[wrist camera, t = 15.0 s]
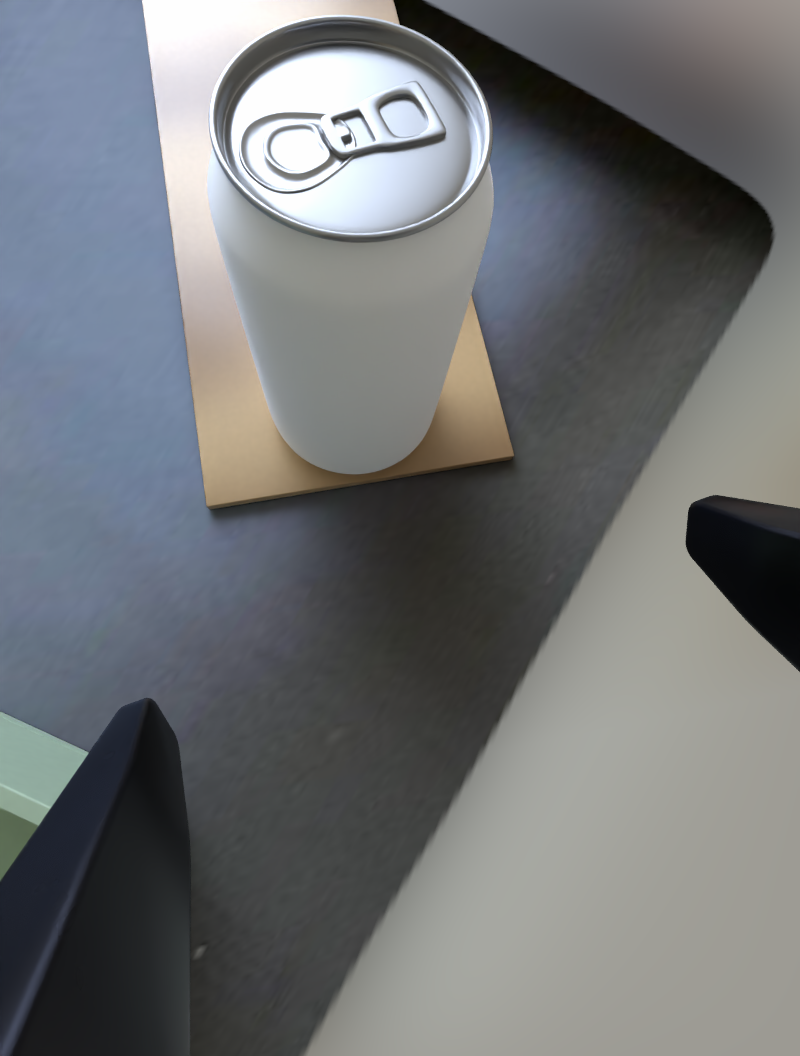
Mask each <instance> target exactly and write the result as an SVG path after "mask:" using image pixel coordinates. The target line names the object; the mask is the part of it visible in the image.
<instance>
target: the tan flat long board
mask: <svg viewBox="0 0 800 1056" xmlns="http://www.w3.org/2000/svg"><path fill="white" fill-rule="evenodd" d="M142 4H143V11H144V19H145V27H146V35H147V43H148V51H149V59H150V66H151V74H152V82H153V90H154V98H155V106H156V113H157V121H158V129H159V137H160V145H161V153H162V160H163V168H164V176H165V184H166V192H167V200H168V208H169V215H170V223H171V231H172V239H173V247H174V255H175V262H176V270H177V278H178V286H179V294H180V302H181V310H182V317H183V325H184V333H185V341H186V349H187V357H188V364H189V372H190V380H191V388H192V396H193V404H194V412H195V419H196V427H197V435H198V443H199V451H200V459H201V466H202V474H203V482H204V490H205V498H206V506H207V507H208V509H216V508H222V507H228V506H234V505H240V504H246V503H252V502H258V501H264V500H270V499H276V498H282V497H288V496H294V495H300V494H306V493H312V492H318V491H324V490H330V489H336V488H342V487H349V486H355V485H361V484H367V483H373V482H379V481H385V480H391V479H397V478H403V477H409V476H415V475H421V474H427V473H433V472H439V471H445V470H451V469H457V468H463V467H469V466H475V465H481V464H487V463H493V462H499V461H505V460H511V459H512V458H513V457H514V453H513V449H512V445H511V441H510V438H509V434H508V430H507V426H506V422H505V419H504V415H503V411H502V407H501V404H500V400H499V396H498V392H497V389H496V385H495V381H494V377H493V374H492V370H491V366H490V362H489V358H488V355H487V351H486V347H485V343H484V340H483V336H482V332H481V328H480V325H479V321H478V317H477V313H476V310H475V306H474V302H473V298H472V295H471V296H470V300H469V303H468V306H467V310H466V313H465V316H464V320H463V323H462V326H461V330H460V333H459V336H458V339H457V343H456V346H455V349H454V352H453V356H452V359H451V362H450V365H449V369H448V372H447V375H446V378H445V382H444V385H443V388H442V391H441V395H440V398H439V401H438V404H437V407H436V410H435V413H434V416H433V419H432V422H431V424H430V427H429V429H428V431H427V433H426V435H425V436H424V438H423V440H422V441H421V442H420V444H419V445H418V446H417V447H416V448H415V449H414V450H413V451H412V452H411V453H410V454H409V455H408V456H407V457H405V458H404V459H403V460H401V461H399V462H398V463H396V464H394V465H392V466H390V467H388V468H385V469H383V470H380V471H376V472H372V473H365V474H342V473H336V472H332V471H328V470H325V469H322V468H319V467H317V466H315V465H313V464H311V463H309V462H307V461H306V460H304V459H303V458H301V457H300V456H299V455H298V454H297V453H295V452H294V451H293V450H292V449H291V447H290V446H289V445H288V444H287V443H286V441H285V440H284V439H283V437H282V436H281V434H280V433H279V431H278V429H277V427H276V425H275V423H274V421H273V419H272V416H271V413H270V411H269V408H268V405H267V402H266V398H265V395H264V392H263V389H262V386H261V382H260V379H259V376H258V373H257V369H256V366H255V363H254V360H253V356H252V353H251V350H250V347H249V343H248V340H247V337H246V333H245V330H244V327H243V324H242V320H241V317H240V314H239V310H238V307H237V304H236V300H235V297H234V294H233V290H232V287H231V284H230V280H229V277H228V274H227V270H226V267H225V263H224V260H223V256H222V253H221V250H220V246H219V243H218V239H217V236H216V232H215V228H214V224H213V220H212V216H211V212H210V206H209V199H208V191H207V177H208V168H209V161H210V156H211V152H212V148H213V146H212V143H211V138H210V132H209V108H210V102H211V98H212V94H213V91H214V88H215V86H216V83H217V81H218V79H219V77H220V75H221V74H222V72H223V70H224V69H225V67H226V66H227V65H228V63H229V62H230V61H231V60H232V59H233V57H234V56H235V55H236V54H237V53H238V52H239V51H240V50H241V49H243V48H244V47H245V46H246V45H247V44H249V43H250V42H251V41H253V40H254V39H256V38H257V37H259V36H261V35H262V34H264V33H266V32H268V31H270V30H272V29H274V28H276V27H279V26H281V25H284V24H287V23H290V22H293V21H297V20H301V19H305V18H310V17H317V16H326V15H356V16H365V17H371V18H377V19H381V20H385V21H389V22H393V23H396V24H399V20H398V16H397V12H396V9H395V5H394V1H393V0H142ZM399 25H400V24H399Z"/></svg>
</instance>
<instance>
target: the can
mask: <svg viewBox="0 0 800 1056" xmlns="http://www.w3.org/2000/svg"><path fill="white" fill-rule="evenodd" d="M209 132H210V138H211V143H212V146H213V148H212V152H211V156H210V161H209V168H208V177H207V191H208V199H209V206H210V212H211V216H212V220H213V224H214V228H215V232H216V236H217V239H218V243H219V246H220V250H221V253H222V256H223V260H224V263H225V267H226V270H227V274H228V277H229V280H230V284H231V287H232V290H233V294H234V297H235V300H236V304H237V307H238V310H239V314H240V317H241V320H242V324H243V327H244V330H245V333H246V337H247V340H248V343H249V347H250V350H251V353H252V356H253V360H254V363H255V366H256V369H257V373H258V376H259V379H260V382H261V386H262V389H263V392H264V395H265V398H266V402H267V405H268V408H269V411H270V413H271V416H272V419H273V421H274V423H275V425H276V427H277V429H278V431H279V433H280V434H281V436H282V437H283V439H284V440H285V441H286V443H287V444H288V445H289V446H290V447H291V449H292V450H293V451H294V452H295V453H297V454H298V455H299V456H300V457H301V458H303V459H304V460H306V461H307V462H309V463H311V464H313V465H315V466H317V467H319V468H322V469H325V470H328V471H332V472H336V473H342V474H365V473H372V472H376V471H380V470H383V469H385V468H388V467H390V466H392V465H394V464H396V463H398V462H399V461H401V460H403V459H404V458H405V457H407V456H408V455H409V454H410V453H411V452H412V451H413V450H414V449H415V448H416V447H417V446H418V445H419V444H420V442H421V441H422V440H423V438H424V436H425V435H426V433H427V431H428V429H429V427H430V424H431V422H432V419H433V416H434V413H435V410H436V407H437V404H438V401H439V398H440V395H441V391H442V388H443V385H444V382H445V378H446V375H447V372H448V369H449V365H450V362H451V359H452V356H453V352H454V349H455V346H456V343H457V339H458V336H459V333H460V330H461V326H462V323H463V320H464V316H465V313H466V310H467V306H468V303H469V300H470V296H471V293H472V290H473V286H474V283H475V280H476V276H477V273H478V269H479V266H480V263H481V259H482V256H483V252H484V249H485V245H486V241H487V237H488V234H489V230H490V225H491V219H492V213H493V205H494V190H493V181H492V174H491V169H490V165H489V160H490V156H491V151H492V142H493V130H492V121H491V116H490V112H489V108H488V105H487V102H486V100H485V98H484V95H483V93H482V91H481V89H480V88H479V86H478V84H477V83H476V81H475V79H474V78H473V77H472V75H471V74H470V73H469V71H468V70H467V69H466V68H465V67H464V66H463V65H462V63H461V62H460V61H459V60H458V59H456V58H455V57H454V56H453V55H452V54H451V53H450V52H448V51H447V50H446V49H445V48H443V47H442V46H441V45H439V44H438V43H436V42H435V41H433V40H431V39H430V38H428V37H426V36H424V35H422V34H420V33H418V32H416V31H414V30H412V29H409V28H407V27H404V26H402V25H399V24H396V23H393V22H389V21H385V20H381V19H377V18H371V17H365V16H356V15H326V16H317V17H310V18H305V19H301V20H297V21H293V22H290V23H287V24H284V25H281V26H279V27H276V28H274V29H272V30H270V31H268V32H266V33H264V34H262V35H261V36H259V37H257V38H256V39H254V40H253V41H251V42H250V43H249V44H247V45H246V46H245V47H244V48H243V49H241V50H240V51H239V52H238V53H237V54H236V55H235V56H234V57H233V59H232V60H231V61H230V62H229V63H228V65H227V66H226V67H225V69H224V70H223V72H222V74H221V75H220V77H219V79H218V81H217V83H216V86H215V88H214V91H213V94H212V98H211V102H210V108H209Z"/></svg>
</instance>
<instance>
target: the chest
mask: <svg viewBox="0 0 800 1056" xmlns="http://www.w3.org/2000/svg"><path fill="white" fill-rule="evenodd" d="M87 755H88V752H86V751H84V750H82V749H80V748H78V747H76V746H73V745H71V744H69V743H67V742H65V741H63V740H60V739H58V738H56V737H54V736H52V735H50V734H48V733H45V732H43V731H41V730H39V729H37V728H35V727H32V726H30V725H28V724H26V723H24V722H22V721H20V720H17V719H15V718H13V717H11V716H9V715H7V714H4V713H2V712H0V880H1V879H2V877H3V876H4V875H5V873H6V872H7V870H8V869H9V867H10V866H11V864H12V863H13V862H14V860H15V859H16V857H17V856H18V854H19V853H20V851H21V850H22V849H23V847H24V846H25V844H26V843H27V841H28V840H29V838H30V837H31V836H32V834H33V833H34V831H35V830H36V828H37V827H38V826H39V824H40V823H41V821H42V820H43V818H44V817H45V815H46V814H47V813H48V811H49V810H50V808H51V807H52V805H53V804H54V802H55V801H56V800H57V798H58V797H59V795H60V794H61V792H62V791H63V789H64V788H65V787H66V785H67V784H68V782H69V781H70V779H71V778H72V776H73V775H74V774H75V772H76V771H77V769H78V768H79V766H80V765H81V763H82V762H83V761H84V759H85V758H86V756H87Z"/></svg>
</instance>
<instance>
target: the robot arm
mask: <svg viewBox="0 0 800 1056" xmlns="http://www.w3.org/2000/svg"><path fill="white" fill-rule="evenodd" d="M686 547H687V550H688V553H689V554H690V556H691V557H692V559H693V560H694V561H695V562H696V563H697V565H698V566H699V567H700V568H701V569H702V570H703V571H704V572H705V574H706V575H707V576H708V577H709V578H710V580H711V581H712V582H713V583H714V584H715V585H716V586H717V588H718V589H719V590H720V591H721V592H722V593H723V595H724V596H725V597H726V598H727V599H728V600H729V601H730V603H731V604H732V605H733V606H734V607H735V608H736V610H737V611H738V612H739V613H740V614H741V615H742V616H743V617H744V618H745V620H746V621H747V622H748V623H749V624H750V625H751V626H752V627H753V628H754V629H755V630H756V631H757V632H758V633H759V634H760V635H761V636H762V637H764V638H765V639H766V640H767V641H768V642H769V643H770V644H771V645H772V646H773V647H774V648H775V649H776V650H777V651H778V652H779V653H780V654H781V655H783V656H784V657H785V658H786V659H787V660H788V661H789V662H790V663H791V664H792V665H793V666H794V667H795V668H796V669H797V670H798V671H799V672H800V509H799V508H793V507H787V506H781V505H774V504H769V503H763V502H756V501H750V500H744V499H738V498H732V497H725V496H719V495H713V496H709V497H706V498H703V499H701V500H698V501H695V502H694V503H692V504H691V506H690V508H689V511H688V520H687V532H686ZM190 913H191V859H190V840H189V829H188V821H187V812H186V803H185V795H184V786H183V778H182V769H181V761H180V752H179V746H178V741H177V738H176V736H175V733H174V732H173V730H172V728H171V727H170V725H169V723H168V722H167V720H166V718H165V717H164V715H163V714H162V712H161V710H160V709H159V707H158V705H157V704H156V702H155V701H154V700H152V699H150V698H144V699H141V700H139V701H136V702H133V703H130V704H127V705H125V706H123V707H121V708H120V709H119V710H118V712H117V713H116V714H115V716H114V717H113V719H112V720H111V722H110V723H109V725H108V726H107V727H106V729H105V730H104V732H103V733H102V735H101V736H100V737H99V739H98V740H97V742H96V743H95V745H94V746H93V748H92V749H91V750H90V752H89V753H88V755H87V756H86V758H85V759H84V761H83V762H82V763H81V765H80V766H79V768H78V769H77V771H76V772H75V774H74V775H73V776H72V778H71V779H70V781H69V782H68V784H67V785H66V787H65V788H64V789H63V791H62V792H61V794H60V795H59V797H58V798H57V800H56V801H55V802H54V804H53V805H52V807H51V808H50V810H49V811H48V813H47V814H46V815H45V817H44V818H43V820H42V821H41V823H40V824H39V826H38V827H37V828H36V830H35V831H34V833H33V834H32V836H31V837H30V838H29V840H28V841H27V843H26V844H25V846H24V847H23V849H22V850H21V851H20V853H19V854H18V856H17V857H16V859H15V860H14V862H13V863H12V864H11V866H10V867H9V869H8V870H7V872H6V873H5V875H4V876H3V877H2V879H1V880H0V1056H190Z"/></svg>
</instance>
